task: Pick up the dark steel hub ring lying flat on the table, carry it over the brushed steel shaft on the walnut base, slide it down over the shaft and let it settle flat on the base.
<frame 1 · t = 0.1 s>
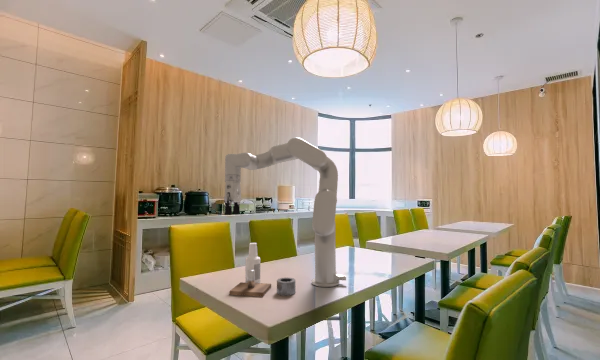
hand: (232, 214, 136), 31 cm above the table, tool pointing down, fingers open, 9 cm apart
steel shaft: (251, 278, 117), on the walnut base, point 5 cm above the table
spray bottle: (252, 283, 128), on the table
walnut base: (251, 290, 117), on the table
steel hub: (286, 292, 114), on the table
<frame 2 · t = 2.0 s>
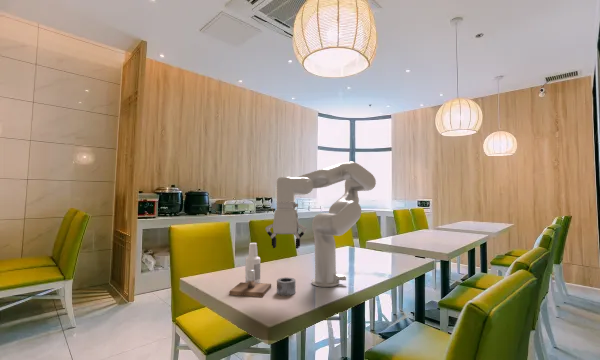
hand: (285, 247, 116), 18 cm above the table, tool pointing down, fingers open, 9 cm apart
nothing on the table moved.
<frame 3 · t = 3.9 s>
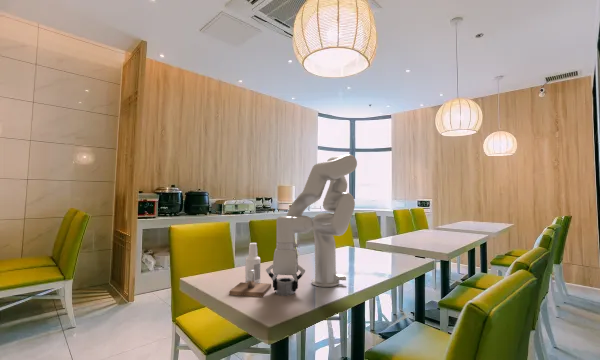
hand: (285, 289, 114), 1 cm above the table, tool pointing down, fingers closed on steel hub, 7 cm apart
steel hub: (285, 292, 114), on the table, touching gripper
everything else where it was.
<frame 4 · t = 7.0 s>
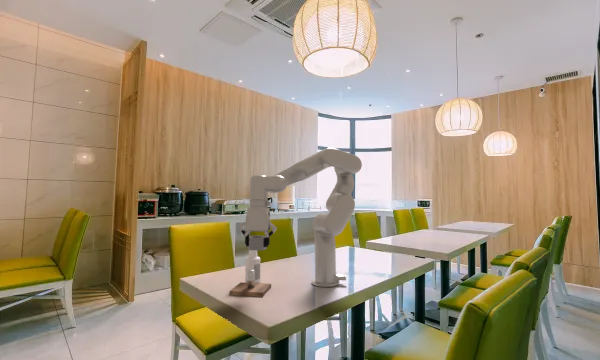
hand: (257, 246, 117), 19 cm above the table, tool pointing down, fingers closed on steel hub, 7 cm apart
steel hub: (257, 248, 117), point 17 cm above the table, touching gripper
everything else where it was.
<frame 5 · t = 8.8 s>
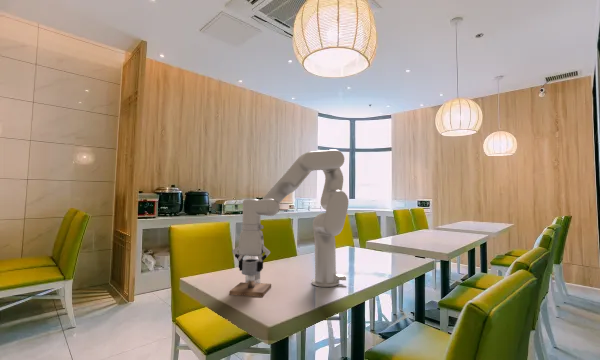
hand: (250, 270, 117), 8 cm above the table, tool pointing down, fingers closed on steel hub, 7 cm apart
steel hub: (250, 272, 117), point 7 cm above the table, touching gripper
everything else where it was.
when the fingers open (5 cm above the table, at t = 10.0 s): steel hub drops 3 cm, resting on walnut base.
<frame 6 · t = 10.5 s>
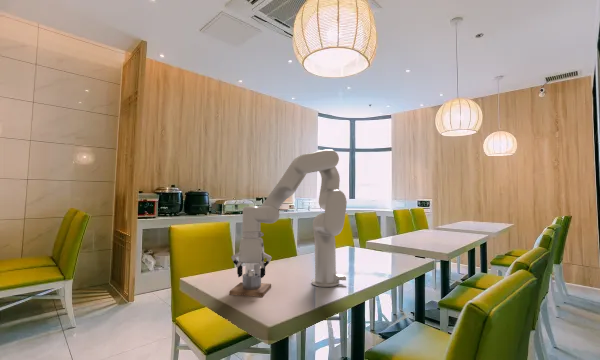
hand: (251, 276, 117), 6 cm above the table, tool pointing down, fingers open, 9 cm apart
steel hub: (251, 287, 117), point 1 cm above the table, touching walnut base
everything else where it was.
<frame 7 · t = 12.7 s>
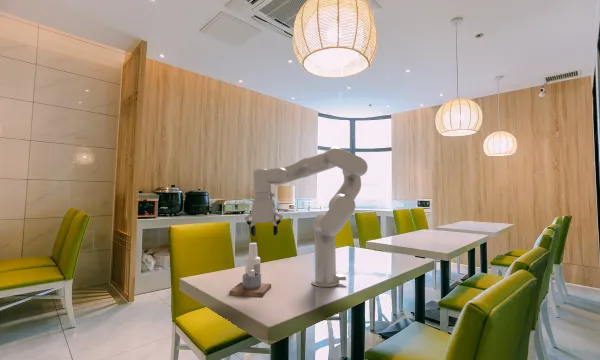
hand: (264, 235, 124), 22 cm above the table, tool pointing down, fingers open, 9 cm apart
nothing on the table moved.
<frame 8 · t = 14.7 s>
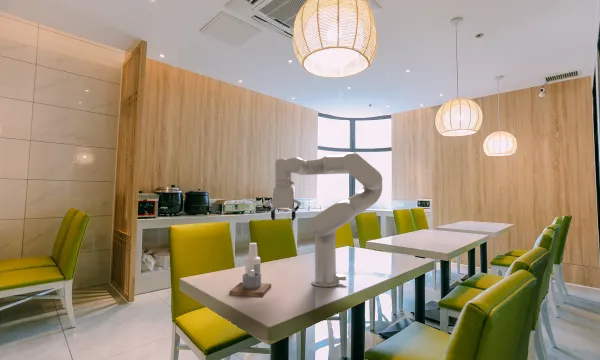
hand: (283, 220, 134), 28 cm above the table, tool pointing down, fingers open, 9 cm apart
nothing on the table moved.
at the end: steel hub 0.3 cm from the steel shaft (horizontally); steel hub point 1.5 cm above the table; steel hub tilted 0° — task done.
